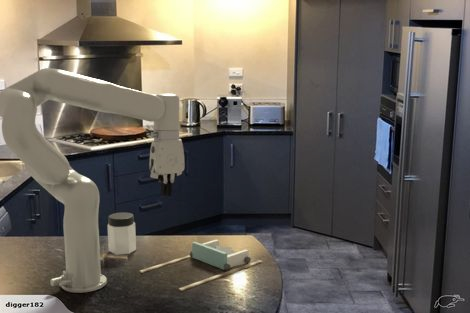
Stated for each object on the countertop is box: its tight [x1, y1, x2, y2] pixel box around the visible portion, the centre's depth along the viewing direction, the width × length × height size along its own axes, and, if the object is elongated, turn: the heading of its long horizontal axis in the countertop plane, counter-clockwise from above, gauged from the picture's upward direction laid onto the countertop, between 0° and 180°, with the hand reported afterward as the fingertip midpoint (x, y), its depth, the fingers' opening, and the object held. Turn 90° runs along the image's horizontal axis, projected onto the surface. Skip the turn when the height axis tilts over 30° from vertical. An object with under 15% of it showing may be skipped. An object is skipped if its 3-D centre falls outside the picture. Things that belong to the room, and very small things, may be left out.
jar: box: [107, 212, 137, 256], centre depth 205 cm, size 9×8×12 cm
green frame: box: [189, 239, 252, 272], centre depth 195 cm, size 11×17×5 cm, turn 43°
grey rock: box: [215, 245, 236, 255], centre depth 196 cm, size 10×6×6 cm, turn 10°
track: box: [139, 254, 263, 292], centre depth 191 cm, size 32×20×1 cm, turn 133°
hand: (166, 195), depth 189 cm, fingers closed
